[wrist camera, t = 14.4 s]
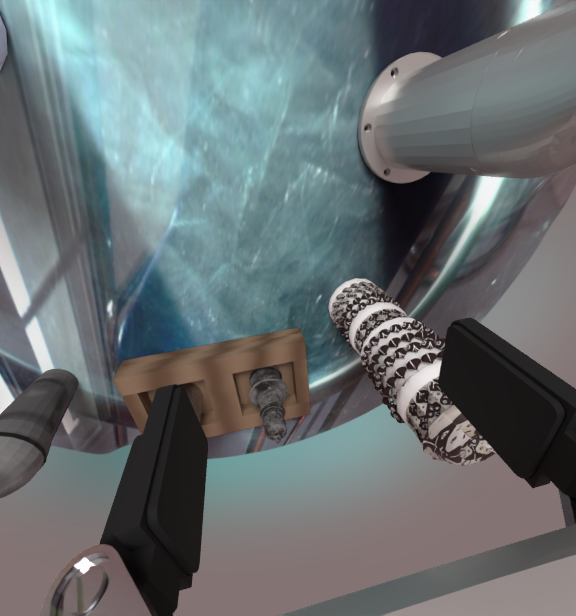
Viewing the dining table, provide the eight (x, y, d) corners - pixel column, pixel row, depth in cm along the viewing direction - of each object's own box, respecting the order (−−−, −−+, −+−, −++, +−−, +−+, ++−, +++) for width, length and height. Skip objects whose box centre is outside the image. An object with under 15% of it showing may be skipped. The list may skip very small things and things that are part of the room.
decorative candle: (313, 310, 43) (405, 466, 21) (356, 263, 41) (506, 384, 19) (352, 337, 47) (461, 492, 25) (392, 296, 45) (550, 427, 23)
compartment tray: (298, 327, 44) (305, 342, 40) (304, 396, 51) (310, 414, 48) (122, 360, 40) (113, 379, 37) (155, 429, 48) (150, 451, 44)
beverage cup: (68, 407, 42) (-38, 581, 25) (16, 383, 39) (-149, 565, 22) (100, 379, 41) (12, 540, 24) (49, 351, 38) (-97, 517, 20)
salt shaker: (273, 395, 47) (287, 462, 37) (240, 386, 45) (246, 455, 35) (290, 369, 46) (310, 431, 35) (257, 358, 43) (268, 422, 33)
